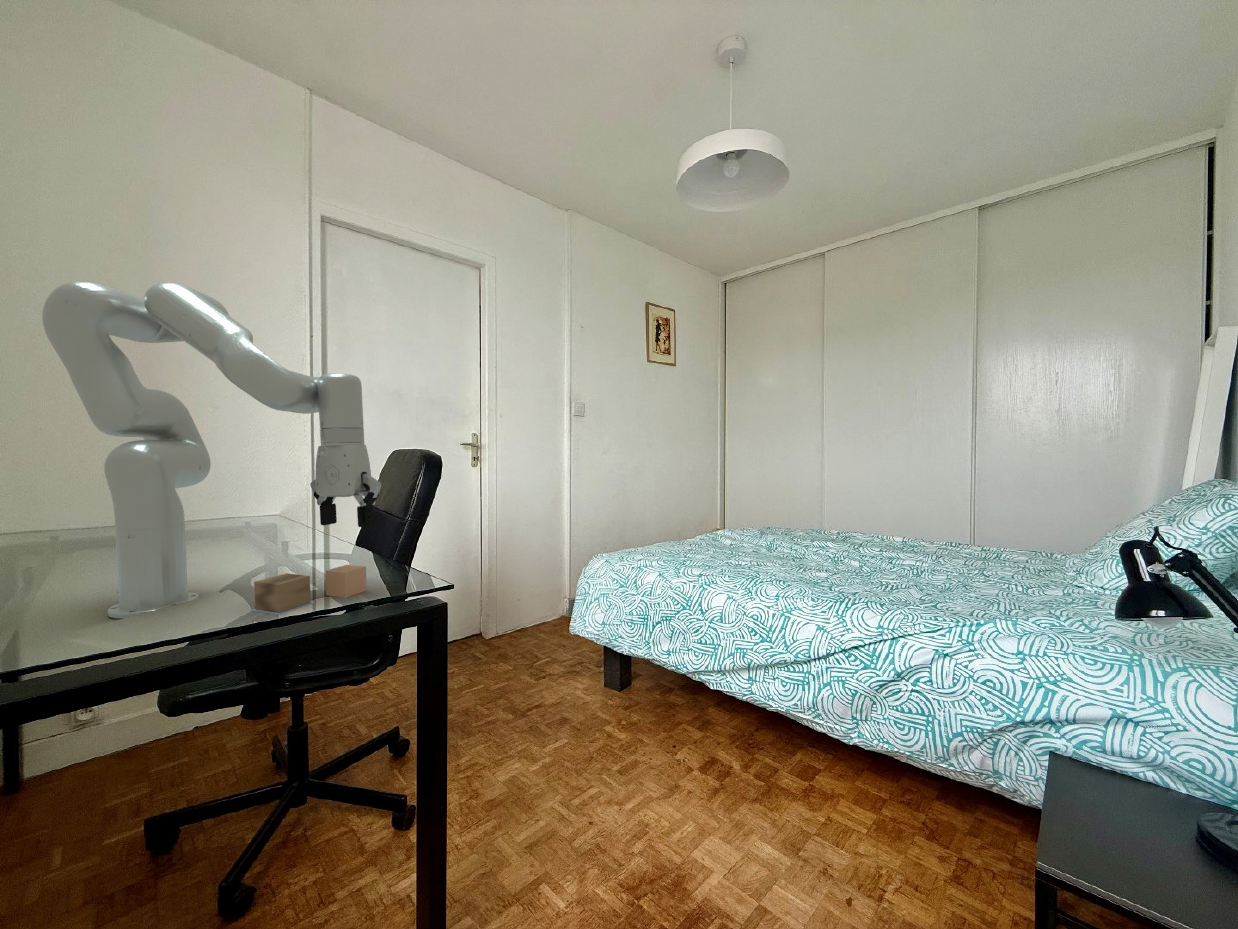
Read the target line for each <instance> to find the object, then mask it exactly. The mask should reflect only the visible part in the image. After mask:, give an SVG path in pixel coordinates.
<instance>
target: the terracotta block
mask: <svg viewBox="0 0 1238 929" xmlns="http://www.w3.org/2000/svg"><path fill="white" fill-rule="evenodd" d="M367 582H368V581H367V566H364V565H356V564H355V565H354V564H353V565H352V564H345V565H344V564H343V565H341V566H337V567H334V568H330V569H325V592H326V593H325V594H326V596H330V597H338V598H345V599H346V598H349V597H351V596H355V595H358V594H361V593H364V592H366V591H368V585H367Z"/></svg>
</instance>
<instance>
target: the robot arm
mask: <svg viewBox="0 0 1238 929" xmlns="http://www.w3.org/2000/svg"><path fill="white" fill-rule="evenodd" d="M41 317H42V318H41V319H42V324H43V325H42V326H43V329H44V332H45V335H46V337H47V339H48V341H49V344H50V345H51V347H52V348H53V350H54V351H55V353H56V355H57V356H58V357H59V359H60V361H61V363H62V364H63V365H64V367H65V370H66V371H67V373H68V375H69V377H70V380H71V382H72V384H73V386H74V388H75V391H76V392H77V394H78V396H79V398H80V401H81V402H82V404H83V407H84V408H85V410H86V412H87V415H88V417H89V419H90V420H91V422H92V423H93V425H94V427H96V429H97V430H99V432H102V433H103V434H105V435H107V436H114V437H122V438H143V439H142V440H141V439H140V440H139V439H138V440H132V441H127V442H125V443H122V444H120V445H118V446H116V447H114V448H113V449H112V450H111V451H110V452H109V453H108V455H107V456H106V459H105V462H104V466H103V467H104V470H103V471H104V476H105V480H106V483H107V486H108V489H109V491H110V492H109V493H110V495H111V500H112V506H113V512H114V513H113V515H114V529H115V530H114V531H115V546H116V547H115V549H116V564H117V565H116V566H117V567H116V568H117V583H118V588H117V589H116V591H115V592H116V594H117V595H118V603H116V604H113V605H112V606H110V607H109V608H108V609H107V616H108V617H110V618H112V619H123V620H124V619H127V618H130V617H134V616H138V615H142V614H146V613H149V612H153V611H157V610H158V611H159V610H161V609H165V608H168V607H172V606H176V605H180V604H183V603H188V602H191V601H195V600H199V599H200V598H199V593H196V592H191V591H189V586H188V584H189V583H188V567H187V566H188V565H187V563H188V562H187V560H188V559H187V544H186V540H187V539H186V522H185V510H184V506H183V503H182V500H181V499H180V496H179V495H178V493H177V489H180V488H187V487H192V486H195V485H197V484H199V483H201V482H203V481H204V480H205V479H206V477H208V475H209V473H210V471H211V464H212V463H211V457H210V453H209V451H208V449H207V446H206V444H205V442H204V441H203V439H202V436H201V434H200V432H199V430H198V428H197V425H196V423H195V421H194V420H193V416H192V415H191V413H190V412H189V409H188V408H187V407H186V405H185V404H184V403H183V402H182V400H180V399H179V398H177V397H176V396H175V395H173V394H171V393H169V392H166V391H162V390H159V389H151V388H147V387H145V386H144V385H143V384H142V382H141V381H140V379H139V377H138V375H137V374H136V372H135V370H134V367H133V365H132V363H131V361H130V360H129V357H128V356H127V355H126V354H125V353H124V351H122V349H120V348H119V346H118V345H117V344H116V343H115V342H114V341H113V339H112V338H111V336H113V337H117V338H121V339H125V340H129V341H133V342H138V343H142V344H143V343H145V344H147V343H148V344H156V343H157V344H159V343H160V344H161V343H162V344H163V343H175V342H179V343H180V342H185V343H186V344H187V345H189V346H191V347H192V348H193V349H194V350H196V351H197V352H199V353H200V354H202V355H203V356H204V357H206V358H207V359H209V360H210V361H212V362H213V363H214V364H215V366H216V367H217V369H218V370H219V371H220V372H221V374H223V376H224V377H225V378H226V379H227V380H228V381H229V382H231V383H232V384H233V385H235V386H236V387H237V388H238V389H239V390H242V391H243V392H245V394H247V395H249V396H250V397H252V398H253V399H254V400H256V401H258V402H259V403H260V404H262V405H264V406H266V407H268V408H270V409H273V410H276V411H281V412H287V413H288V412H290V413H294V414H295V413H296V414H301V415H302V414H308V415H309V414H315V413H316V414H317V413H318V416H319V417H318V419H319V437H320V440H319V441H320V445H319V446H318V447H317V451H316V452H317V453H316V459H315V474H314V475H315V478H314V480H313V481H311V482H310V484H309V485H310V488H311V490H312V492H313V497H314V498H315V500H316V504H317V506H319V519H320V520H319V521H320V526H327V525H333V524H337V522H338V520H337V504H336V503H334V502H335V499H336V498H349V497H354V499H355V500H356V502H357V503H358V505H359V506H357V507H356V512H357V516H356V517H357V526H358V527H359V528H365V527H369V526H373V525H374V505H376V501H377V499H378V498H379V496H380V492H381V488H382V482H380V481H379V480H377V479H376V478H374V477H373V476H372V472H371V471H372V470H371V463H370V456H369V451H368V449H367V448H368V447H367V445H366V444H365V429H364V427H365V426H364V408H363V404H364V403H363V390H362V387H363V386H362V381H361V379H360V378H359V377H358V376H357V375H354V374H347V373H325V374H322V375H320V376H318V377H315V376H310V375H307V374H306V375H305V374H303V373H299V372H296V371H292V370H289V369H287V368H286V367H284V366H282V365H281V364H279V363H278V361H275V360H274V359H272V358H270V357H269V356H268V355H267V354H265V353H264V352H262V351H261V350H260V349H259V348H258V347H257V346H255V345H254V344H253V342H254V337H253V334H252V332H251V331H250V330H249V329H248V328H247V327H245V326H244V325H242V324H241V323H240V322H239V321H237V320H235V319H234V318H232V317H231V316H230V315H229V312H228V309H226V307H225V306H224V305H223V304H222V303H221V302H220V301H218V300H217V299H216V298H214V297H213V296H210V295H208V294H205V293H203V292H201V291H199V290H196V289H194V288H192V287H189V286H187V285H184V284H181V283H177V282H159V283H156V284H154V285H152V286H151V287H149V288H148V289H146V292H145V294H144V295H143V297H140V296H136V295H134V294H130V293H128V292H125V291H122V290H120V289H116V288H114V287H111V286H108V285H105V284H101V283H96V282H93V281H81V280H76V281H74V280H73V281H68V282H65V283H62V284H61V285H59V286H57V287H56V288H54V289H53V290H52V291H51V292H50V294H49V295H48V297H46V300H45V302H44V305H43V308H42V315H41Z"/></svg>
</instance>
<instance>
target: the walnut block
mask: <svg viewBox="0 0 1238 929" xmlns="http://www.w3.org/2000/svg"><path fill="white" fill-rule="evenodd" d="M253 582H254V583H253V584H254V585H253V586H254V602H255V603H254V606H255V607H254V609H256V610H262V611H269V612H275V613H281V612H284V611H287V610H290V609H293V608H296V607H299V606H302V605H305V604H308V603H311V602H312V601H311V600H312V599H311V575H304V574H296V573H295V574H294V573H282V574H279V575H275V576H270V577H268V578H263V579H260V580H256V581H253Z"/></svg>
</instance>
